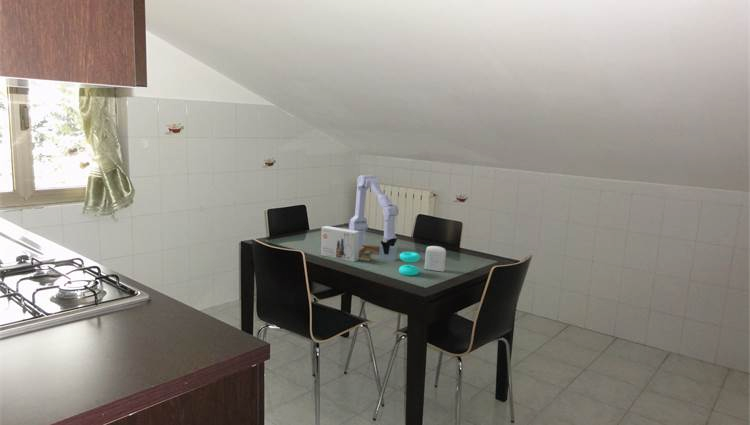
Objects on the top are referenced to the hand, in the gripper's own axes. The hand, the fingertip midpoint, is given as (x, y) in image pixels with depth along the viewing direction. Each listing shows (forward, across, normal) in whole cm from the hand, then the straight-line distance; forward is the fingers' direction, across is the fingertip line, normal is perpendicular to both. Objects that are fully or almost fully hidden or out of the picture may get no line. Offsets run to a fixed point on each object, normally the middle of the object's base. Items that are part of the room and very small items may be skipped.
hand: (388, 252), depth 290 cm
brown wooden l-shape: (+3, +2, +11) cm, 11 cm away
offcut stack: (+3, -8, +10) cm, 13 cm away
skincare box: (+4, -11, +24) cm, 27 cm away
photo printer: (+4, -9, -28) cm, 30 cm away
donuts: (+4, -21, -18) cm, 28 cm away
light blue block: (+3, 0, 0) cm, 4 cm away
